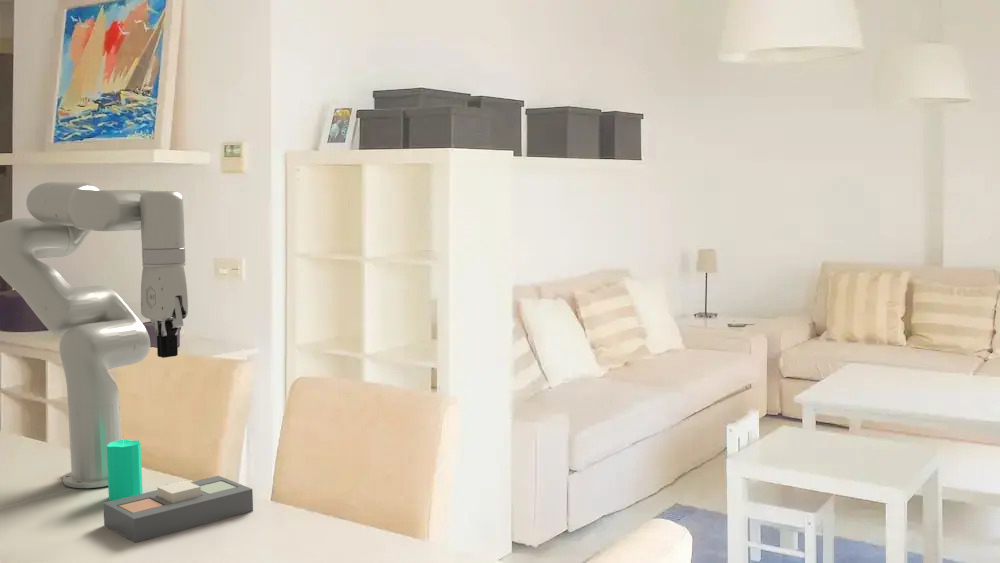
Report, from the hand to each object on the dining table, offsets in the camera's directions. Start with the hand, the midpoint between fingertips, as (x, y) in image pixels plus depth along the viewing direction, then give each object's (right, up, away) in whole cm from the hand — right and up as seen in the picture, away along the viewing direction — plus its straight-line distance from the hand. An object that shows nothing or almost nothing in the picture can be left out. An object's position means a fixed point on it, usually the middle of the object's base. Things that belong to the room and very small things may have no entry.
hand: (167, 356), depth 179 cm
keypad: (+5, -28, -9) cm, 30 cm away
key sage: (+10, -27, -4) cm, 29 cm away
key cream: (+5, -26, -9) cm, 28 cm away
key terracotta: (0, -28, -14) cm, 31 cm away
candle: (-9, -27, +3) cm, 29 cm away
